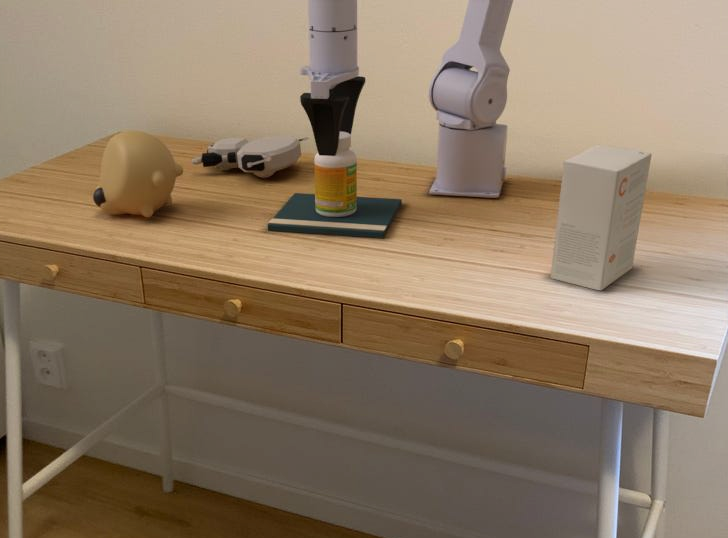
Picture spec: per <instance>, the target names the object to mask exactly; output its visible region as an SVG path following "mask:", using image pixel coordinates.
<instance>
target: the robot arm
mask: <svg viewBox="0 0 728 538" xmlns="http://www.w3.org/2000/svg"><path fill="white" fill-rule="evenodd" d="M513 3H514V0H468V3H467V7H466V11H465V15H464V19H463V22H462V26H461V29H460V34H459V38H458V40H457V41H456V42H455V43H454V44H453V45H451V46H450V47H449V48H447V50H445V52H444V53H443V55H442V58H441V62H440V64H439V66H438V69H437V70H436V72H435V73H434V75H433V76H432V78H431V81H430V83H429V87H428V98H429V103H430V105H431V107H432V109H434V111H436V120H437V121H438V132H437V133H438V136H437V137H438V138H437V155H436V156H437V157H436V177H435V179H434V181H433V183H432V185H431V187H430V189H429V194H430V195H435V196H436V195H437V196H452V197H453V196H456V197H470V198H471V197H472V198H487V199H489V198H490V199H497V198H499V197H500V194H501V191H502V187H503V184H504V181H505V180H506V174H507V173H506V172H507V171H506V170H507V168H506V166H505V164H506V154H507V152H506V151H507V143H508V142H507V141H508V125H507V124H500V123H497V121H498V120H499V119H500V117H501V116H502V114H503V112H504V110H505V108H506V106H507V101H508V79H509V75H510V71H511V69H510V66H509V65H508V62H507V61H506V60H505V57H504V55H503V54H502V51H501V47H502V43H503V40H504V37H505V32H506V29H507V24H508V21H509V18H510V14H511V10H512V7H513ZM307 14H308V43H309V44H308V46H309V48H308V49H309V50H308V51H309V65H303V66H302V67H301V68H300V69H299V71H300V75H302V76H308V77H309V80H310V92H303V93H302V94H301V95H300V97H299V99H300V101H299V102H300V105H301V107H302V108H303V111H304V112H305V114H306V116H307V118H308V120H309V123H310V126H311V129H312V133H313V138H314V143H315V145H316V146H315V147H316V150H317V153H319V155H323V156H335V155H336V153H337V149H338V143H339V135H340V131H341V132H347V133H349V134H350V135H351V136H352V132H353V131H352V130H353V127H354V126H353V125H354V120H355V115H356V109H357V105H358V101H359V98H360V95H361V93H362V91H363V88H364V86H365V84H366V77H365V76H362V75H361V76H360V67H359V66H358V0H307ZM473 68H475V69H476V70H477V71H476V70H472V69H473Z"/></svg>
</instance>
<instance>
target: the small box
mask: <svg viewBox="0 0 728 538" xmlns="http://www.w3.org/2000/svg"><path fill="white" fill-rule="evenodd" d="M652 155H653V154H652V153H651V152H648V151H643V150H638V149H633V148H627V147H623V146H622V147H620V146H614V145H606V144H600V143H599V144H596V145H594V146H592V147H590V148H588V149H586V150H584V151H582V152H580V153H578V154H576V155H574V156H571V157H570V158H568V159H566V160H564V161H563V165H562V175H561V185H560V192H559V202H558V209H557V210H558V211H557V218H556V228H555V235H554V244H553V252H552V259H551V261H552V262H551V270H550V278H551V279H553V280H557V281H561V282H564V283H568V284H572V285H575V286H580V287H583V288H588V289H590V290H591V289H592V290H595V291H603V290H604V289H605V288H607V287H608V286H609V285H611V284H612V283H613V282H615V281H617V280H618V279H619V278H621V277H623V275H625V274H626V273H628V272H629V271H630V270H631V269H633V267H634V266H633V265H634V259H635V254H636V248H637V241H638V235H639V229H640V225H641V224H640V223H641V219H642V213H643V208H644V201H645V196H646V190H647V184H648V178H649V172H650V167H651V160H652Z"/></svg>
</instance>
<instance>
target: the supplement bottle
mask: <svg viewBox="0 0 728 538" xmlns="http://www.w3.org/2000/svg"><path fill="white" fill-rule="evenodd" d="M351 147H352V134H351V135H350V134H349V133H347V132H341V131H340V135H339V143H338V149H337V153H336V155H335V156H323V155H319V153H318V152H317V153H316V154H315V155H314V159H313V163H314V164H313V166H314V167H313V168H314V194H315V207H316V212H317V213H318V214H320V215H322V216H325V217H345V216H349V215H352V214H353V213H355V211H356V209H357V197H358V195H357V194H358V185H357V184H358V180H357V179H358V178H357V177H358V176H357V175H358V173H357V169H358V168H357V166H358V165H357V163H358V162H357V160H358V159H357V155H356V153H355V152H354V151H352V150H351V149H350V148H351Z"/></svg>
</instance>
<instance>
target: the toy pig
mask: <svg viewBox="0 0 728 538" xmlns="http://www.w3.org/2000/svg"><path fill="white" fill-rule="evenodd" d="M183 173H184V168H183V166H182V165H181V164H180V163H177V162H176V161H175V159H174V156H173V154H172V152H171V151H170V149H169V148H168V146H166V144H165V143H164V142H162V140H161V139H159V138H157V137H156V136H154V135H152V134H150V133H148V132H145V131H140V130H125V131H121V132H119V133H116V134H115V135H113V136H112V137H111V138H110V139H109V141H108V142H107V143H106V146H105V149H104V151H103V154H102V159H101V165H100V177H99V182H98V185H97V186H96V187H94V192H93V195H92V200H93V202H94V204H95V205H96V206H97V207H98V208H100V210H101V211H102V212H103V213H106V214H108V215H114V216H115V215H126V214H130V215H136V216H143V217H145V218H151V217H152V216H153V215H154V212H156V211H158V210H159V209H160V208H161V207H163V206H165V207H169V206H171V205H172V203H173V198H172V192H173V190H174V188H175V184H176V178H177V177H180V176H182V175H183Z"/></svg>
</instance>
